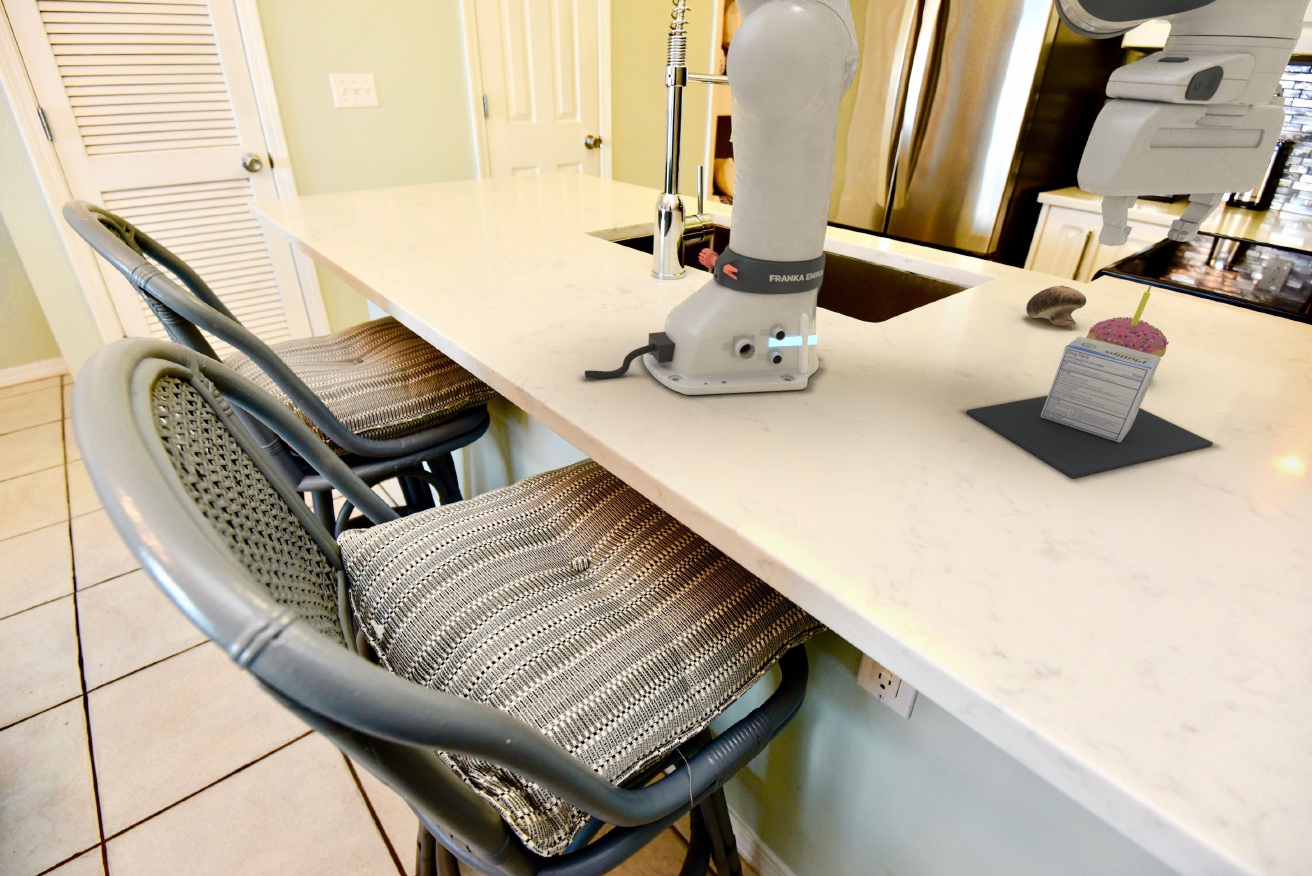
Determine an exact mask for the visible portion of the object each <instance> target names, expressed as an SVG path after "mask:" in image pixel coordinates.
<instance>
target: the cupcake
mask: <svg viewBox="0 0 1312 876" xmlns="http://www.w3.org/2000/svg"><path fill="white" fill-rule="evenodd" d="M1151 288H1152V285H1149V286H1148V289H1147V290H1145V291H1144V292H1143V294H1142V296H1141V299H1140V301H1139V304H1138V306H1137V308H1136V311H1135V312H1134V315H1133V317H1131V316H1130V317H1127V316H1126V317H1125V316H1124V317H1121V316H1120V317H1119V316H1117V317H1113V318H1108V319H1105V320H1101V321H1098V322H1097V323H1095V324H1094V325H1092V326H1091V327H1089V330H1088V333H1087V335H1086V337H1085V338H1089V339H1093V340H1097V341H1101V342H1105V343H1109V344H1113V345H1117V346H1121V347H1125V348H1129V349H1133V350H1137V351H1141V352H1144V353H1148V354H1152V355H1156V356H1159V357H1160V358H1162V357H1164V356H1165V354H1166V352H1167V345H1168V346H1169V343H1170V342H1169V340H1168V339H1167V337H1166V335H1165V334H1164V333H1163V332H1162V330H1161V329H1159V328H1158V327H1155V326H1154V325H1152V324H1150V323H1148V322H1147V321H1144V320H1143V319H1141V317H1142V314H1143V312H1144V310H1145V307H1146V305H1147V303H1148V301H1149V299H1150V296H1151V294H1152V292H1151Z"/></svg>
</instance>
